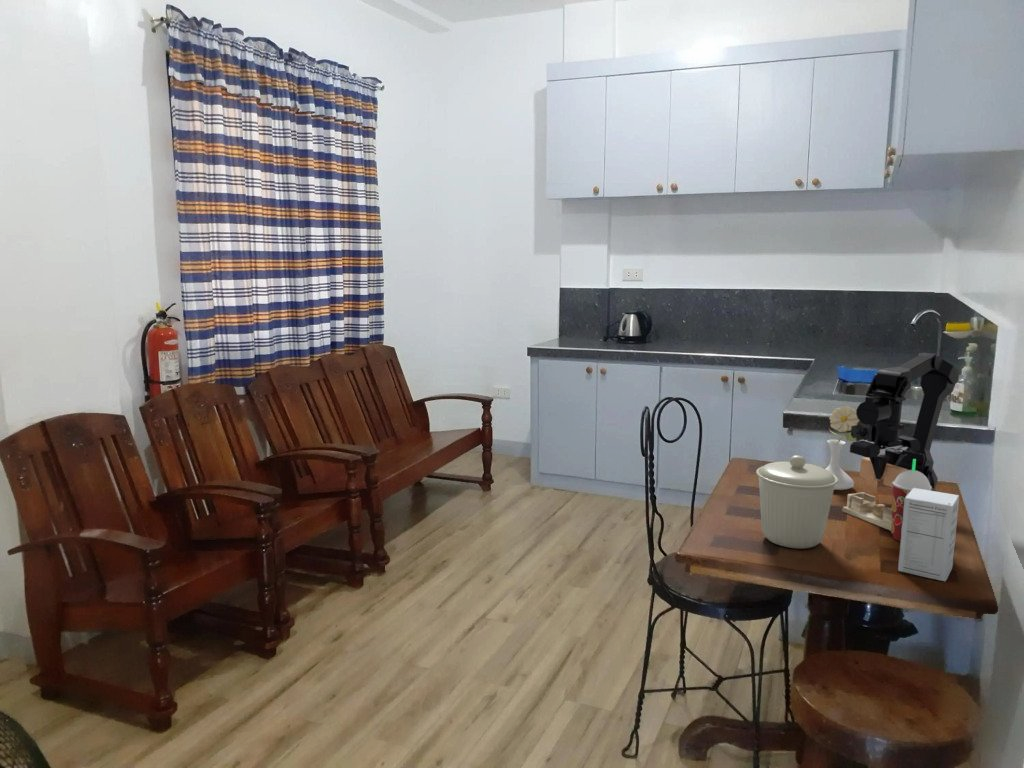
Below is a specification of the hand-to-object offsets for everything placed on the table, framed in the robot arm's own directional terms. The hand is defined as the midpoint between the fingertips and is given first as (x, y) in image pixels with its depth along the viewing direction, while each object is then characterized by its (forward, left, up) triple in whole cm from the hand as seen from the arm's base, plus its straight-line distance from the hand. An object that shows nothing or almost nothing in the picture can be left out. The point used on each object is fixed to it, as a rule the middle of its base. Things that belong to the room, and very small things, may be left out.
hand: (882, 478), depth 194 cm
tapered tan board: (0, 0, -1) cm, 1 cm away
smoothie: (+5, +13, -11) cm, 18 cm away
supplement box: (+17, +27, -11) cm, 34 cm away
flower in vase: (-10, -24, -11) cm, 28 cm away
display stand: (0, 0, -11) cm, 11 cm away
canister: (+32, +3, -11) cm, 34 cm away
